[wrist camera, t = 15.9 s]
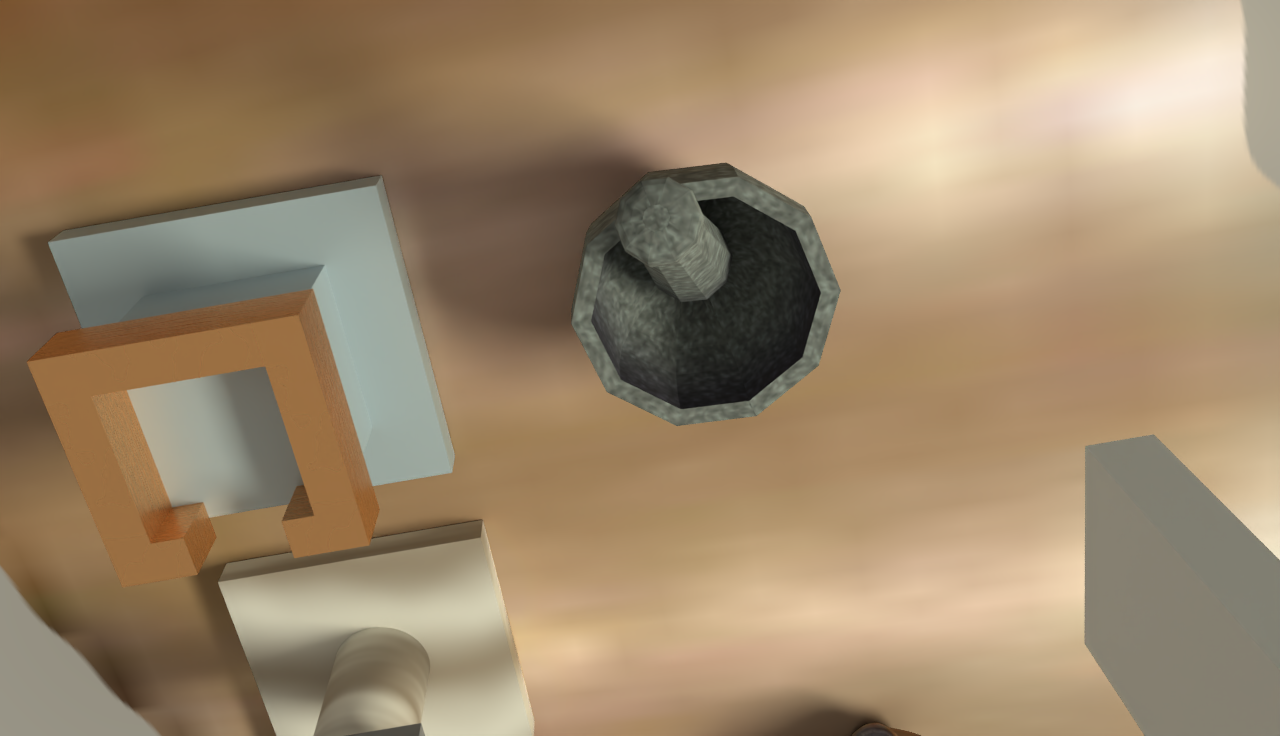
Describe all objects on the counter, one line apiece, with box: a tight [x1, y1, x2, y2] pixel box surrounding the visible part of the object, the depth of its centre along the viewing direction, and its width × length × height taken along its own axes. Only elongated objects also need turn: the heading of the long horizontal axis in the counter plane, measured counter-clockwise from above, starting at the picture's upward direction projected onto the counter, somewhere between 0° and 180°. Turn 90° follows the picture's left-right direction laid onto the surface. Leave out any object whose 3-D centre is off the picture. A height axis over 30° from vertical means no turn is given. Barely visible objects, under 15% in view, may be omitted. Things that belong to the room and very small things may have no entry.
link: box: [27, 289, 380, 587], centre depth 41 cm, size 9×9×2 cm
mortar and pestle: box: [571, 163, 841, 426], centre depth 42 cm, size 11×9×12 cm
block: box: [48, 175, 455, 517], centre depth 45 cm, size 13×13×7 cm
